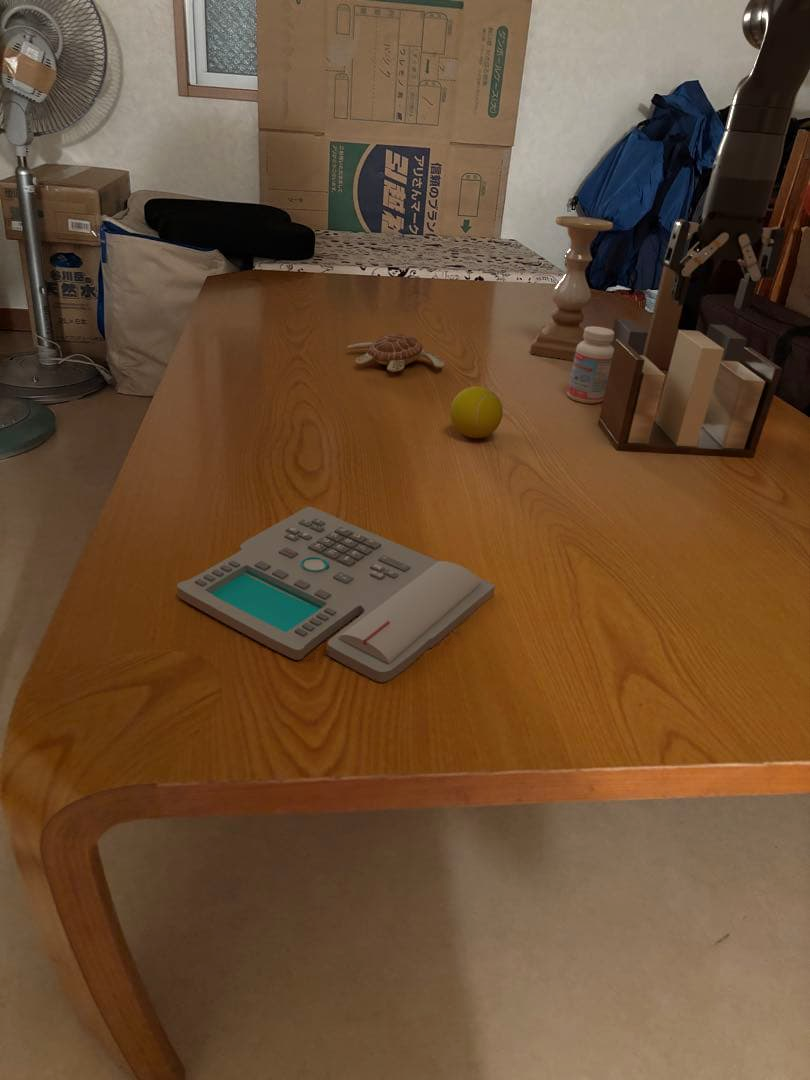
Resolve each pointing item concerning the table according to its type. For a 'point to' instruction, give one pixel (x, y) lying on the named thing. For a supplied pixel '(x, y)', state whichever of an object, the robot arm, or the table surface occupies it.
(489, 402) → the tennis ball
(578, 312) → the candle holder
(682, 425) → the cream book
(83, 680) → the table surface
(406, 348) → the decorative turtle
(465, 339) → the table surface
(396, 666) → the office telephone
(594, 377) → the pill bottle
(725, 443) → the book rack
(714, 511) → the table surface
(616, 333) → the grey books
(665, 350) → the wooden block
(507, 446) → the table surface
